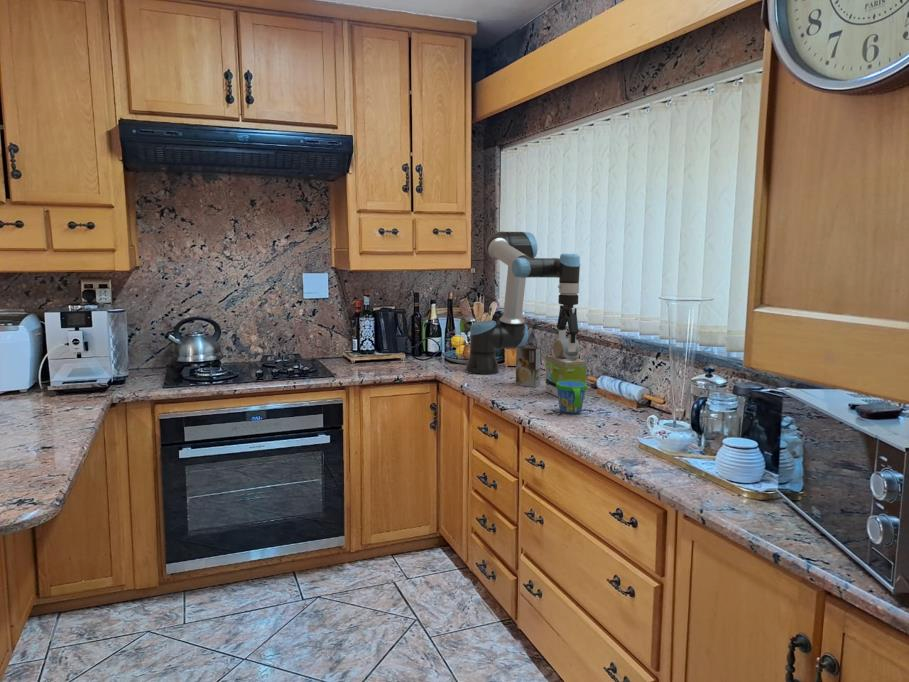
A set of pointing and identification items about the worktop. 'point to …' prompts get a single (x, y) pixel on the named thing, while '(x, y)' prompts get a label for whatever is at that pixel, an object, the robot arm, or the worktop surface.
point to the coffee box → (528, 366)
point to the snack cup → (571, 396)
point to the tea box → (563, 372)
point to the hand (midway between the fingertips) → (566, 349)
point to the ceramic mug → (565, 349)
